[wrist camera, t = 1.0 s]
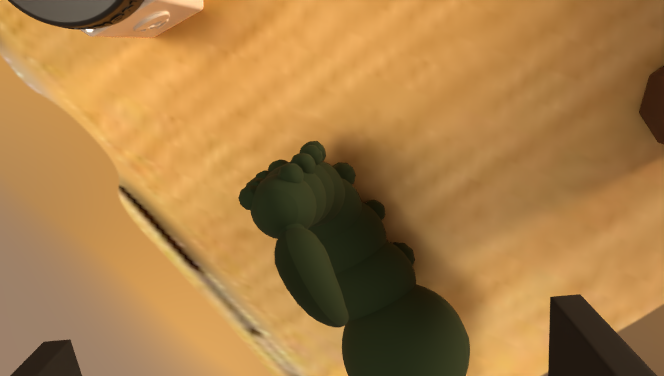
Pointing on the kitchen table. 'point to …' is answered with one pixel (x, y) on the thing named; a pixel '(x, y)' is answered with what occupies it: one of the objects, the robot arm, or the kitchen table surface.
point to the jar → (112, 15)
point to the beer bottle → (654, 104)
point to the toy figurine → (353, 270)
